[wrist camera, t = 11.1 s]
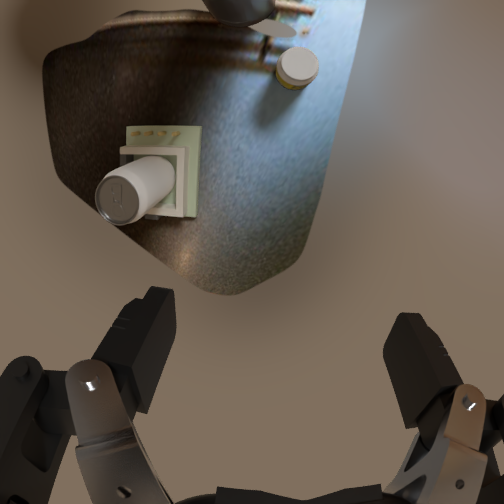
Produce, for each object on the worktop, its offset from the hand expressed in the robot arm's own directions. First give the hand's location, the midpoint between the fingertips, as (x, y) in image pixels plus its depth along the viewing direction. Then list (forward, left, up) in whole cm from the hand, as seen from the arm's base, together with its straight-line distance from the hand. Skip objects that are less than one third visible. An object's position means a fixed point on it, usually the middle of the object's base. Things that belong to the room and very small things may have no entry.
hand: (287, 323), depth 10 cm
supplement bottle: (-13, +1, -32) cm, 35 cm away
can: (+3, -17, -31) cm, 35 cm away
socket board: (+2, -16, -32) cm, 36 cm away
